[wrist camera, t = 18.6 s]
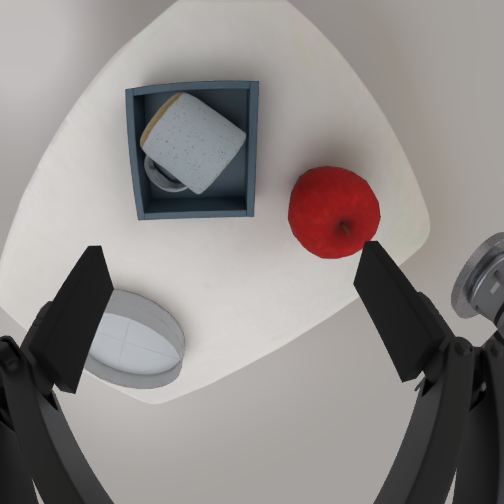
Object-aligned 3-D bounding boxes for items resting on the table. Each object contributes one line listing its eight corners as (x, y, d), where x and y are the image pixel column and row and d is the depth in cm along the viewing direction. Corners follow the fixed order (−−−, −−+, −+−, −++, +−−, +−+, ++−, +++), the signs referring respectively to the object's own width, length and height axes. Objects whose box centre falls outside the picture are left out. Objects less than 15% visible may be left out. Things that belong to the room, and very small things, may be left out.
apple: (365, 178, 33) (410, 215, 24) (325, 235, 38) (355, 286, 29) (303, 138, 30) (338, 163, 21) (263, 205, 34) (278, 254, 25)
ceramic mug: (185, 86, 25) (171, 87, 19) (246, 129, 28) (251, 143, 22) (132, 163, 29) (108, 186, 23) (189, 200, 32) (179, 232, 26)
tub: (254, 82, 26) (259, 81, 22) (250, 199, 34) (254, 217, 30) (139, 88, 25) (125, 89, 21) (148, 202, 33) (138, 220, 29)
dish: (203, 317, 44) (202, 341, 40) (166, 379, 54) (164, 399, 50) (74, 268, 37) (61, 289, 33) (70, 345, 47) (62, 364, 42)
